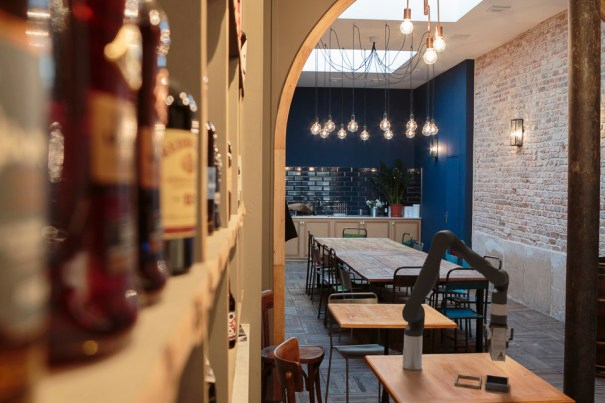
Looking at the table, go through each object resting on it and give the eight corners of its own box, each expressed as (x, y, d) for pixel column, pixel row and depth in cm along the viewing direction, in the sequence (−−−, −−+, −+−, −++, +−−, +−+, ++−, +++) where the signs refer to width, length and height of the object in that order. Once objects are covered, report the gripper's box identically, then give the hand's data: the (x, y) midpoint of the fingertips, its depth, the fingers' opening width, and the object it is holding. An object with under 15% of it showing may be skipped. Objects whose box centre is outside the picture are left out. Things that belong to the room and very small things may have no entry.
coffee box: (489, 355, 267) (489, 321, 266) (503, 356, 265) (503, 322, 265) (491, 360, 258) (492, 326, 257) (506, 361, 256) (507, 327, 256)
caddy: (484, 389, 257) (485, 383, 257) (486, 380, 270) (486, 374, 270) (508, 393, 254) (508, 386, 254) (508, 383, 266) (508, 377, 266)
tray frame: (454, 385, 262) (454, 382, 262) (457, 376, 275) (457, 374, 275) (480, 388, 258) (480, 386, 258) (481, 379, 271) (481, 377, 271)
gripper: (482, 312, 260) (481, 348, 260) (515, 315, 255) (514, 351, 255) (483, 309, 267) (482, 344, 267) (515, 312, 262) (513, 347, 262)
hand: (497, 347), depth 261 cm, fingers closed on coffee box, 7 cm apart
